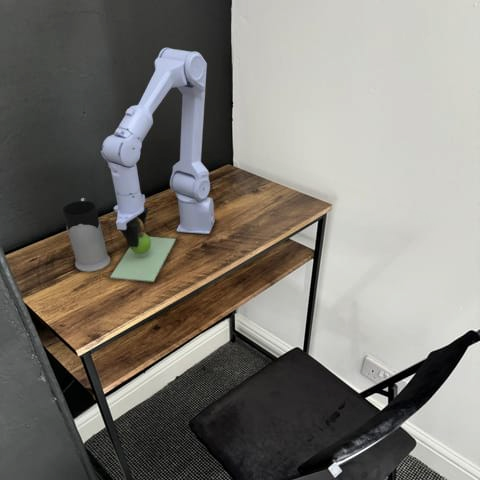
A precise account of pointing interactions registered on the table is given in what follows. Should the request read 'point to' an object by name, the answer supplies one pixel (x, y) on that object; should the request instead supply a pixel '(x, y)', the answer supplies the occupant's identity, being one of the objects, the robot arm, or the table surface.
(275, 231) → the table surface
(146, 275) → the desk pad
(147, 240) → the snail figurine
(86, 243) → the glass holder
